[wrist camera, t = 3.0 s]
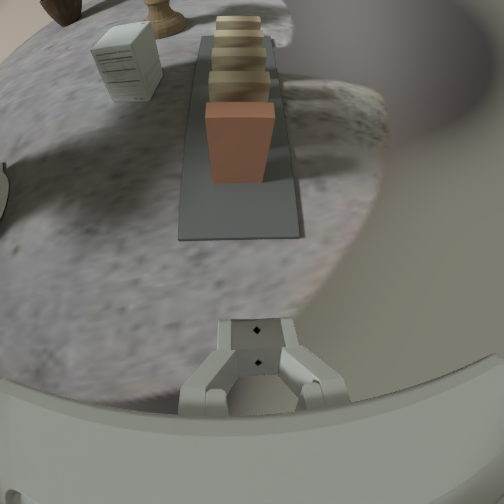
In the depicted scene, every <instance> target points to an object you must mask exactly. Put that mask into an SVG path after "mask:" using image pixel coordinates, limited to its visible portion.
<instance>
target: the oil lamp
mask: <svg viewBox="0 0 504 504" xmlns="http://www.w3.org/2000/svg"><path fill="white" fill-rule="evenodd" d="M144 3H145V4H146V5H147V6H148V8H149V14H148V16H147V18H146V19H145V20H144V21H143V22H145V21H151V23H152V28H153V32H154V37H155V39H161V38H165V37H169V36H171V35H174V34H176V33H178V32H180V31H182V30H183V29H184V28H185V26H186V20H185V18H184V16H183V15H182V14H181V13H179V12H175V11H173V10H172V9H171V8H170V6H169V0H144Z"/></svg>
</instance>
